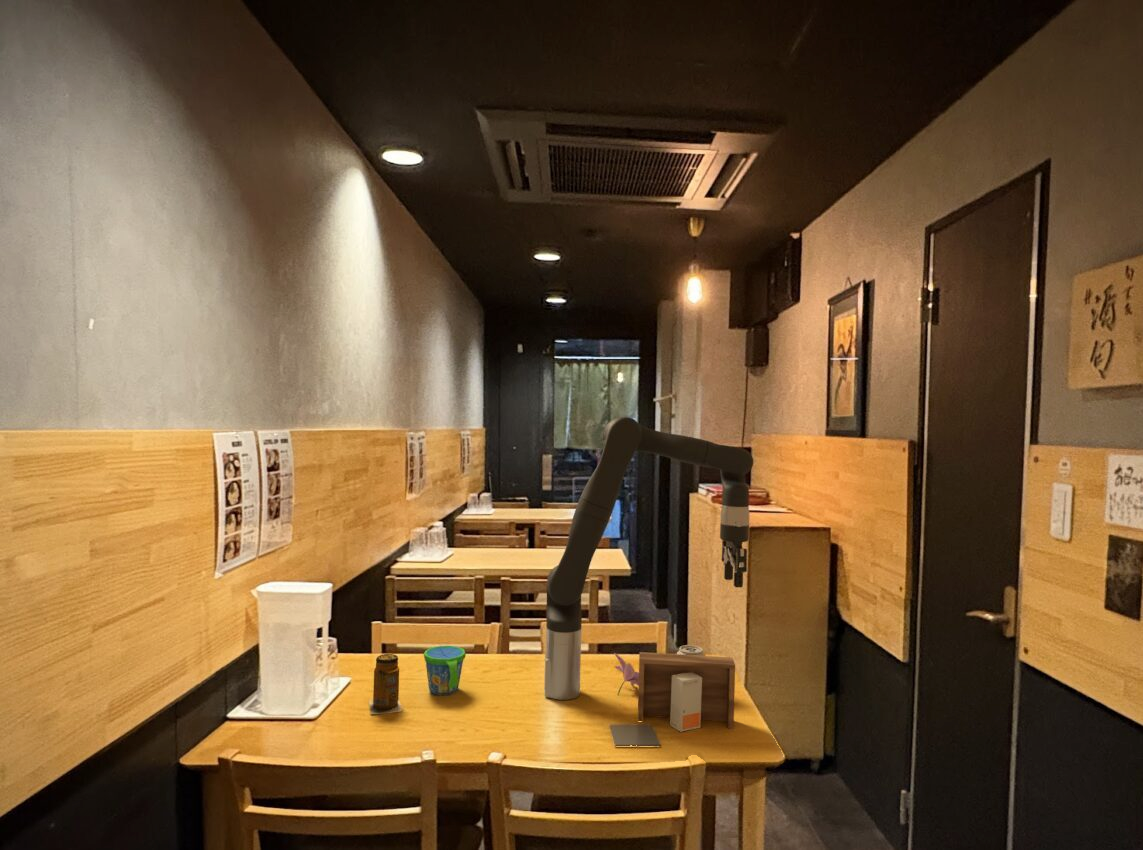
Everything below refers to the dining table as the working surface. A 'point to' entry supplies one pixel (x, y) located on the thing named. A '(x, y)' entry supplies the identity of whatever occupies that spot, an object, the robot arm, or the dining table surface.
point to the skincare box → (686, 701)
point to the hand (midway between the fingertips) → (733, 583)
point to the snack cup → (444, 668)
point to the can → (690, 650)
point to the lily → (627, 672)
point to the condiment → (386, 685)
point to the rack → (662, 667)
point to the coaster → (634, 735)
